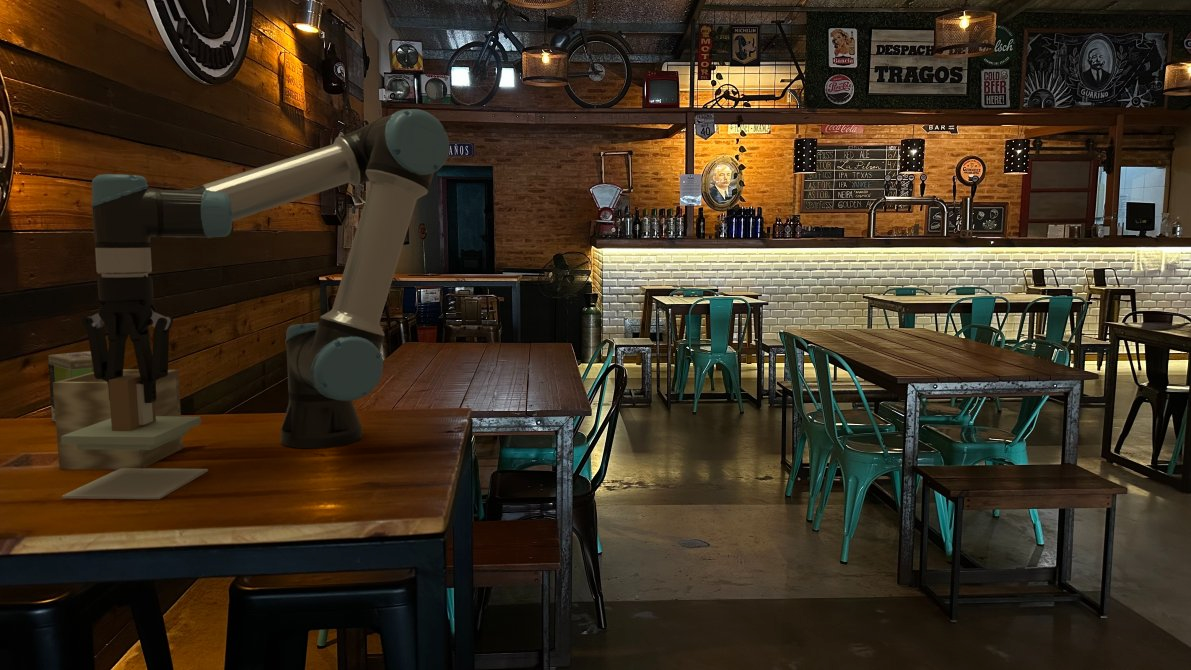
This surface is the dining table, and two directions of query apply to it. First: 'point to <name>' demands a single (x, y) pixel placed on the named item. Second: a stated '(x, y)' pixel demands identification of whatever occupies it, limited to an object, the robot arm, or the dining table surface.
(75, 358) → the tea box
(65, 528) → the dining table surface
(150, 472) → the mat
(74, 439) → the lid
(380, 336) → the robot arm
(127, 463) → the crate
